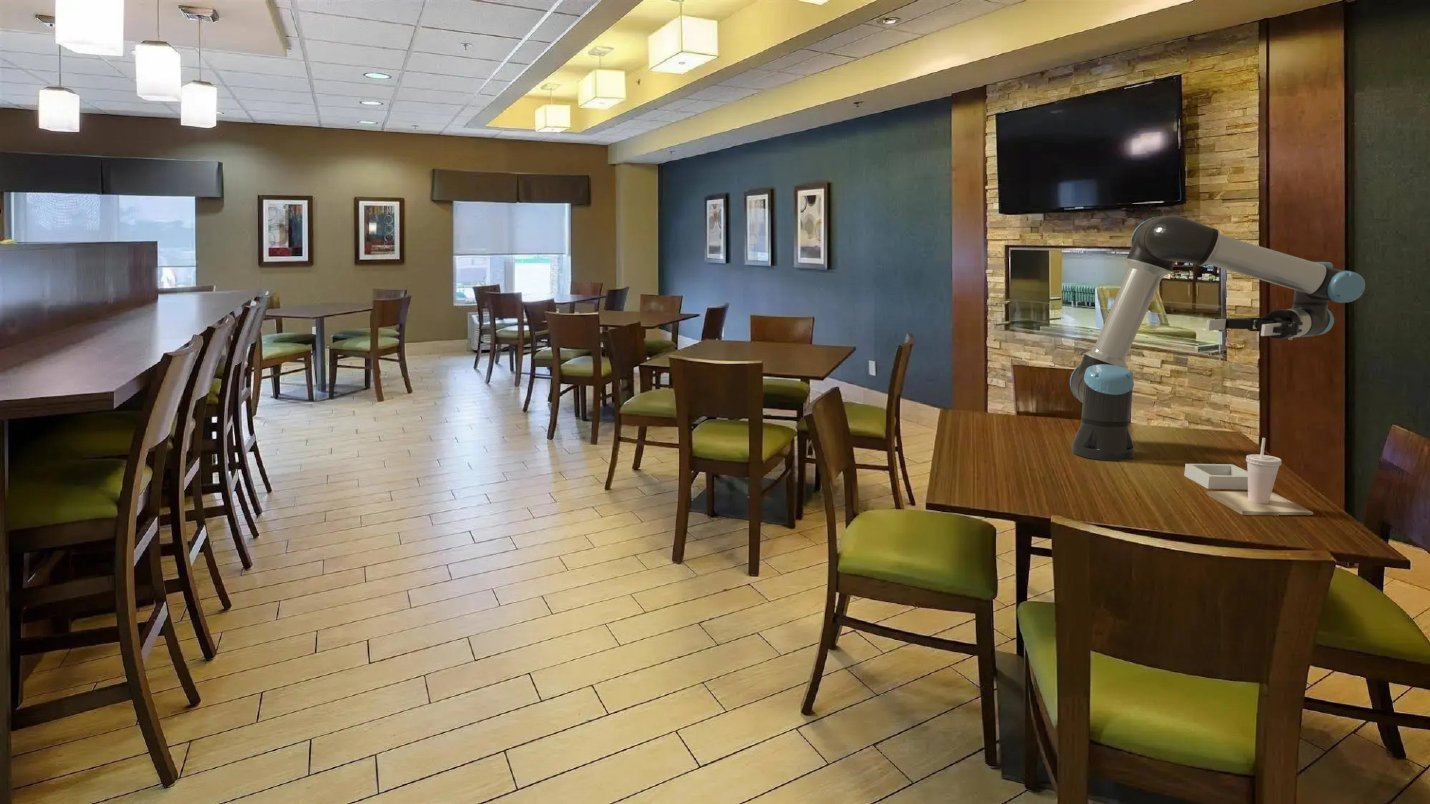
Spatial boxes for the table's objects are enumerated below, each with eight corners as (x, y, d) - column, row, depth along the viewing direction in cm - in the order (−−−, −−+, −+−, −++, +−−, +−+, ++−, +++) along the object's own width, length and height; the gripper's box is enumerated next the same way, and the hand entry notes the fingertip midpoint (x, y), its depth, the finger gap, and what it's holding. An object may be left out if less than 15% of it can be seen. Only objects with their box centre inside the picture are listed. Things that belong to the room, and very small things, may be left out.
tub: (1207, 488, 187) (1209, 476, 186) (1184, 475, 197) (1185, 463, 197) (1257, 489, 186) (1259, 477, 185) (1231, 476, 197) (1232, 464, 196)
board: (1242, 514, 169) (1242, 511, 168) (1206, 494, 182) (1207, 491, 182) (1312, 516, 168) (1313, 512, 167) (1271, 495, 181) (1272, 492, 181)
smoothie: (1233, 497, 178) (1241, 435, 175) (1261, 496, 178) (1269, 434, 176) (1255, 506, 171) (1263, 441, 169) (1283, 505, 172) (1292, 441, 169)
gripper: (1337, 343, 199) (1286, 348, 190) (1235, 333, 221) (1185, 338, 212) (1341, 312, 198) (1290, 316, 189) (1238, 306, 220) (1188, 309, 211)
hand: (1234, 327), depth 200 cm, fingers open, 13 cm apart
